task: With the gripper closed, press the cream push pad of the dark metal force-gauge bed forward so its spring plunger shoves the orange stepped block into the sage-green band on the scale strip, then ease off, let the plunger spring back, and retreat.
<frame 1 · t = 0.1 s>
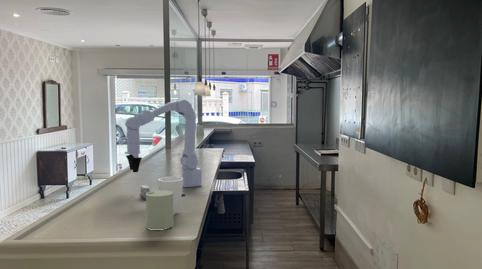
hand: (134, 170, 170), 10 cm above the bar counter, fingers open, 7 cm apart
foam cup: (171, 212, 137), on the bar counter
gauge bed: (162, 195, 163), on the bar counter
can: (160, 226, 121), on the bar counter
plunger: (171, 188, 164), point 3 cm above the bar counter, slide at 0.0 cm
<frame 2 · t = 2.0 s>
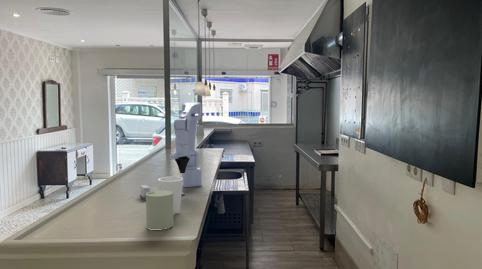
hand: (182, 172, 167), 9 cm above the bar counter, fingers closed
nothing on the bar counter moved.
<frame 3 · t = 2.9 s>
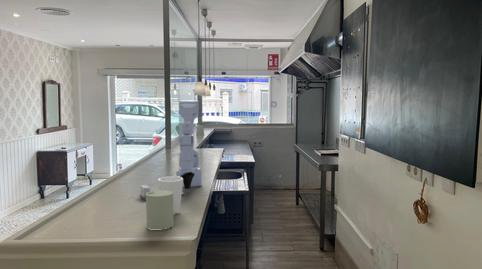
hand: (187, 188, 168), 2 cm above the bar counter, fingers closed
nothing on the bar counter moved.
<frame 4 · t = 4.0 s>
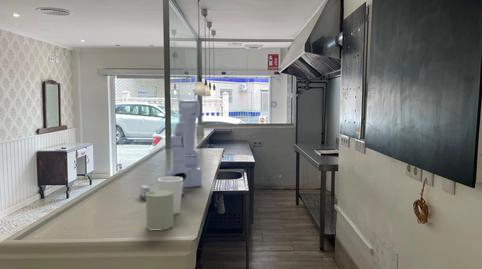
hand: (179, 189, 166), 2 cm above the bar counter, fingers closed
plunger: (168, 188, 164), point 3 cm above the bar counter, slide at 1.1 cm, touching gripper, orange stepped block
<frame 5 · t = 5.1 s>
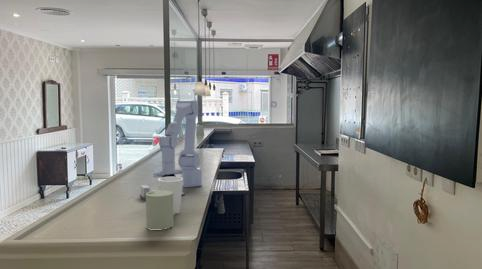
hand: (168, 190, 164), 2 cm above the bar counter, fingers closed
plunger: (158, 189, 162), point 3 cm above the bar counter, slide at 5.7 cm, touching gripper, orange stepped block
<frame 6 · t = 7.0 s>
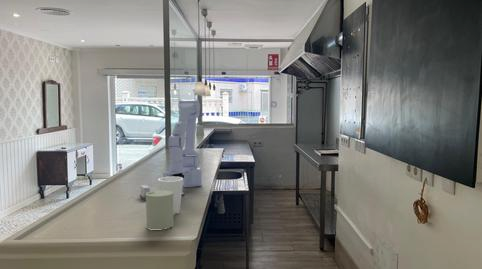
hand: (177, 190, 166), 2 cm above the bar counter, fingers closed
plunger: (166, 189, 163), point 3 cm above the bar counter, slide at 2.0 cm, touching gripper
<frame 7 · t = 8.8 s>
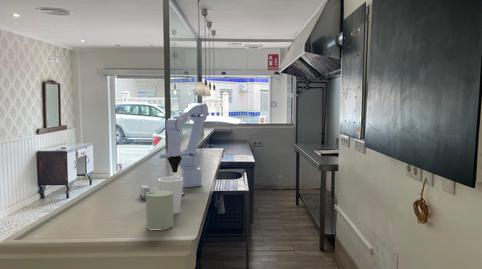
hand: (174, 172, 169), 9 cm above the bar counter, fingers closed
plunger: (170, 188, 164), point 3 cm above the bar counter, slide at 0.3 cm
everything else where it was.
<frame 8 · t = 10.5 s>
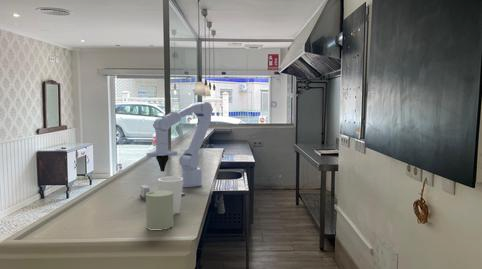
hand: (162, 171, 172), 9 cm above the bar counter, fingers closed
nothing on the bar counter moved.
at the end: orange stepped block slide at 5.2 cm; plunger slide at 0.3 cm; plunger touching nothing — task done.
